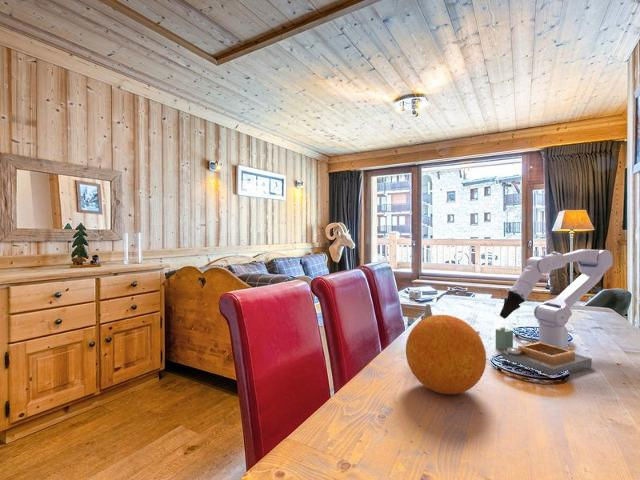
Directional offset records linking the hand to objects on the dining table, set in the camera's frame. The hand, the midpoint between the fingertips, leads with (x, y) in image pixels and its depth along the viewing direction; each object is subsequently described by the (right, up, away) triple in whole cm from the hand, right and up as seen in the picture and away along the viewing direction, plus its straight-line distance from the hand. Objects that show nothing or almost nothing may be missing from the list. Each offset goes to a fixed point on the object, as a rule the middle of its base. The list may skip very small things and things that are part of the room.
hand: (503, 314), depth 121 cm
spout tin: (+2, -13, +4) cm, 14 cm away
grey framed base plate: (+7, -13, -12) cm, 19 cm away
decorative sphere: (-33, -14, -31) cm, 47 cm away
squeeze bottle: (-29, -13, -6) cm, 32 cm away
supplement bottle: (-12, -13, -2) cm, 18 cm away
